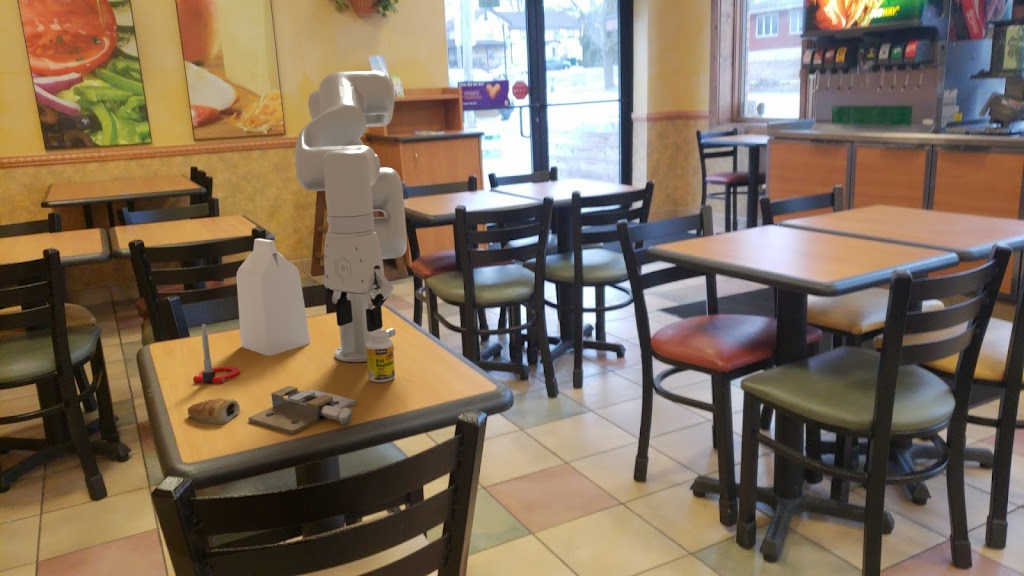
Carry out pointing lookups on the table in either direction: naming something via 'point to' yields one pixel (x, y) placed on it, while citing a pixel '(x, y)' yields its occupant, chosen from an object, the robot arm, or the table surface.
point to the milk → (270, 302)
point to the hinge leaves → (297, 409)
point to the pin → (334, 413)
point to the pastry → (214, 410)
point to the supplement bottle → (380, 356)
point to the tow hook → (209, 372)
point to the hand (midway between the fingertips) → (359, 325)
